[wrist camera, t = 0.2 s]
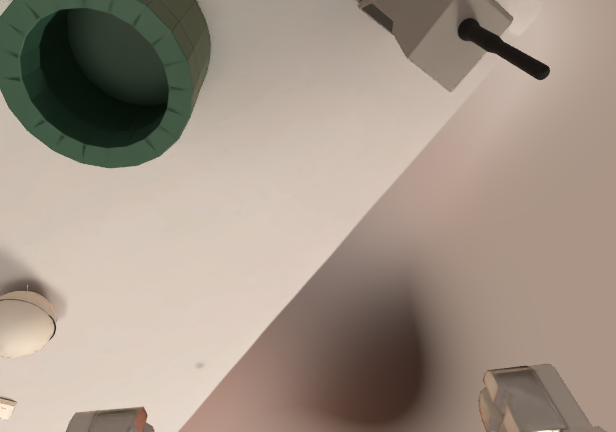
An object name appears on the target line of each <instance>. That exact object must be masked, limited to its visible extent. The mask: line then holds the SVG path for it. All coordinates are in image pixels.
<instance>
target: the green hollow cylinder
mask: <svg viewBox="0 0 616 432" xmlns="http://www.w3.org/2000/svg"><path fill="white" fill-rule="evenodd" d="M209 59H210V36H209V31H208V27H207V24H206V21H205V18H204V15H203V13H202V12H201V10H200V8H199V6H198V4H197V3H196V1H195V0H13V1H12V3H11V4H10V5H9V6H8V7H7V9H6V10H5V11H4V12H3V14H2V15H1V16H0V89H1V92H2V94H3V96H4V98H5V101H6V103H7V105H8V107H9V108H10V110H11V111H12V112H13V113H14V115H15V116H16V117H17V118H18V120H19V121H20V122H21V123H22V125H23V126H24V127H25V128H26V130H27V131H29V133H31V134H32V135H33V136H35V137H36V138H37V139H39V140H40V141H41V142H43V143H44V144H45V145H47V146H48V147H49V148H50V149H52V150H54V151H55V152H57V153H59V154H62V155H64V156H66V157H68V158H71V159H73V160H75V161H77V162H80V163H83V164H88V165H94V166H100V167H105V168H118V167H129V166H138V165H140V164H143V163H145V162H147V161H150V160H152V159H155V158H157V157H159V156H161V155H162V154H163V153H164V152H165V151H167V150H168V149H169V148H170V147H171V146H172V145H173V144H174V143H175V142H176V141H178V139H179V138H180V136H181V134H182V132H183V130H184V129H185V127H186V125H187V123H188V121H189V119H190V117H191V114H192V111H193V108H194V106H195V103H196V100H197V97H198V95H199V92H200V89H201V87H202V84H203V81H204V78H205V76H206V73H207V70H208V64H209Z"/></svg>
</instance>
